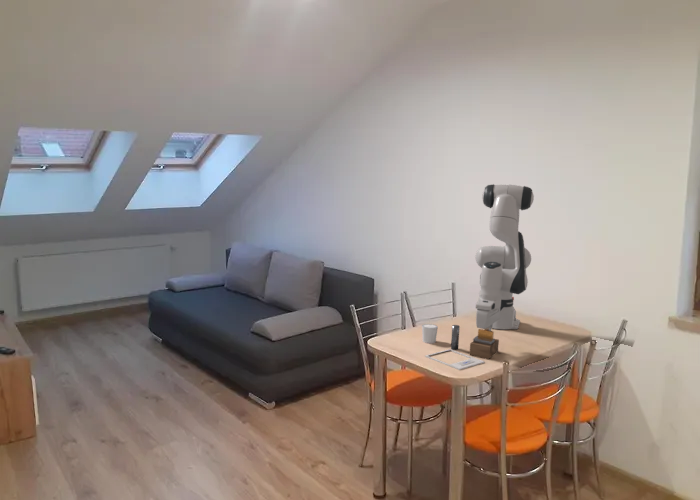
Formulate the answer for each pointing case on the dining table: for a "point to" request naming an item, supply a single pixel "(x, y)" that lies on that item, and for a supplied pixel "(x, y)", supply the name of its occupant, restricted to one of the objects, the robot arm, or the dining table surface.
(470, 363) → the photo frame
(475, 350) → the dock
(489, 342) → the bar
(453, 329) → the peg
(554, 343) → the dining table surface
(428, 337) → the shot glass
